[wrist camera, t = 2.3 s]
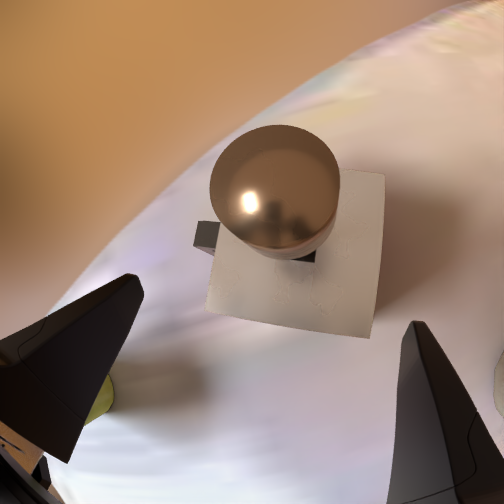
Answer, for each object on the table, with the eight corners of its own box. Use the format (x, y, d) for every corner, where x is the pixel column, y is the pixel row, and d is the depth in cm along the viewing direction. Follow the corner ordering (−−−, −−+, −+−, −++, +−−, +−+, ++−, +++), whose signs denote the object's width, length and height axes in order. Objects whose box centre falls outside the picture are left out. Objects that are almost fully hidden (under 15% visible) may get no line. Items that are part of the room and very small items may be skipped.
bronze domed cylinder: (327, 283, 16) (333, 254, 7) (264, 274, 17) (197, 236, 8) (335, 220, 16) (343, 129, 7) (274, 213, 17) (224, 124, 8)
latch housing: (354, 328, 20) (369, 338, 13) (215, 305, 23) (172, 303, 16) (368, 213, 21) (385, 174, 14) (235, 199, 24) (203, 160, 17)
